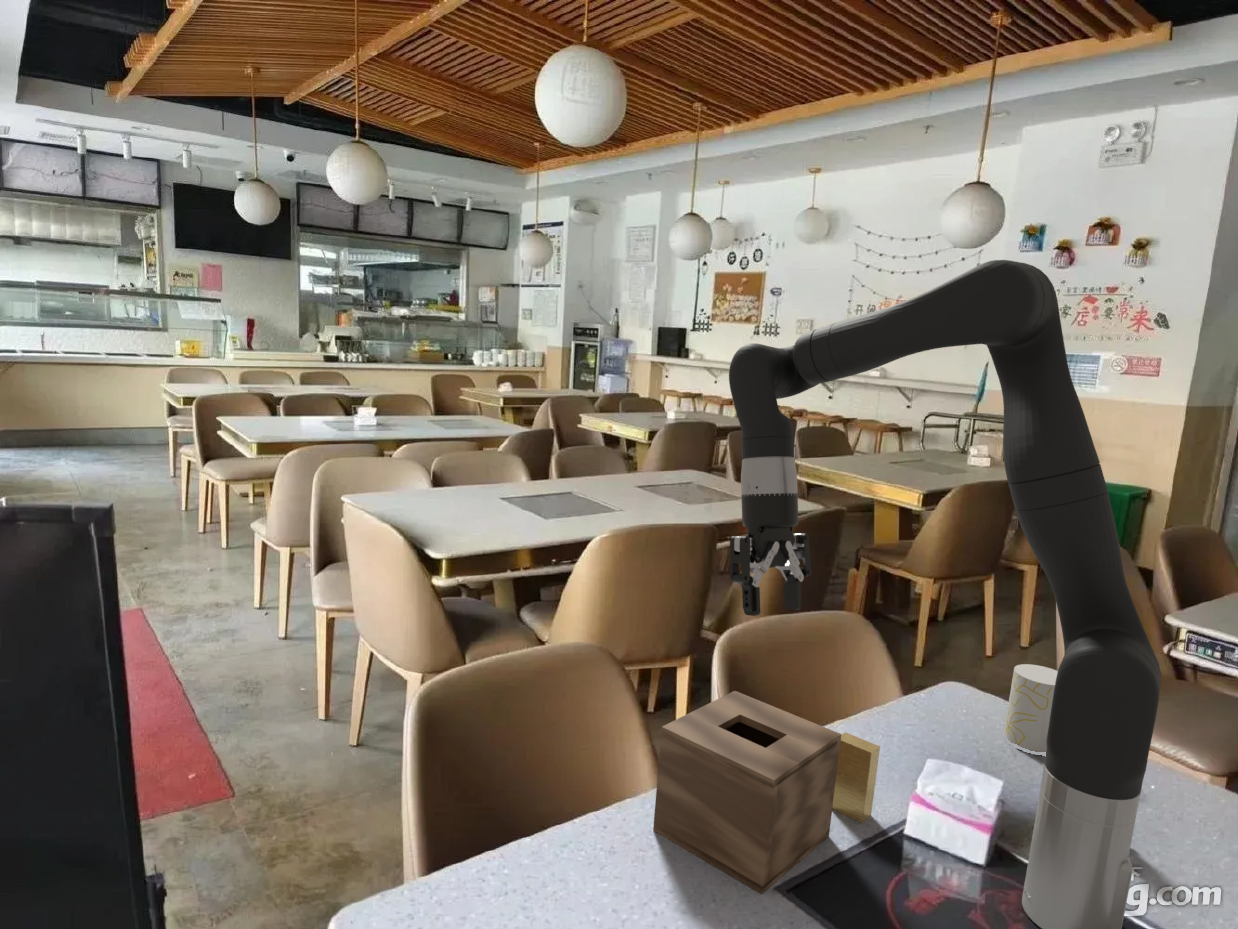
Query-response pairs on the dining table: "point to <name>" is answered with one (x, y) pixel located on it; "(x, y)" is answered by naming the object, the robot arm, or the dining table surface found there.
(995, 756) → the dining table surface
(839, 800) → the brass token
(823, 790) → the box
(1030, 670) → the cup
